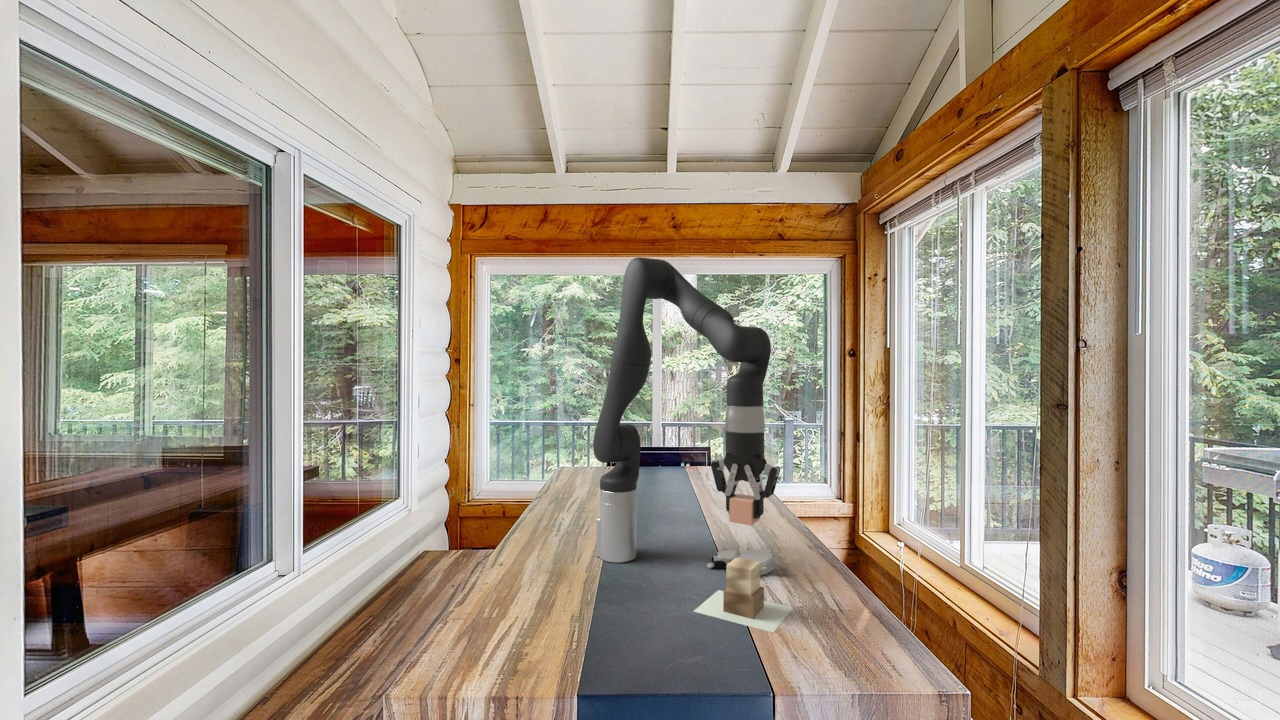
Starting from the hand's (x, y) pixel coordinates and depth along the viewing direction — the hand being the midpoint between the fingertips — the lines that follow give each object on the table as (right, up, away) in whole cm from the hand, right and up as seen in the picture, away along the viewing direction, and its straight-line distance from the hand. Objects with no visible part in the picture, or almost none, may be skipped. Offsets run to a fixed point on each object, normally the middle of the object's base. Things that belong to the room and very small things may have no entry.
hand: (744, 515), depth 113 cm
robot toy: (+4, -20, +24) cm, 31 cm away
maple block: (0, -14, 0) cm, 14 cm away
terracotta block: (0, -1, 0) cm, 1 cm away
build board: (0, -20, 0) cm, 20 cm away
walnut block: (0, -18, 0) cm, 18 cm away
